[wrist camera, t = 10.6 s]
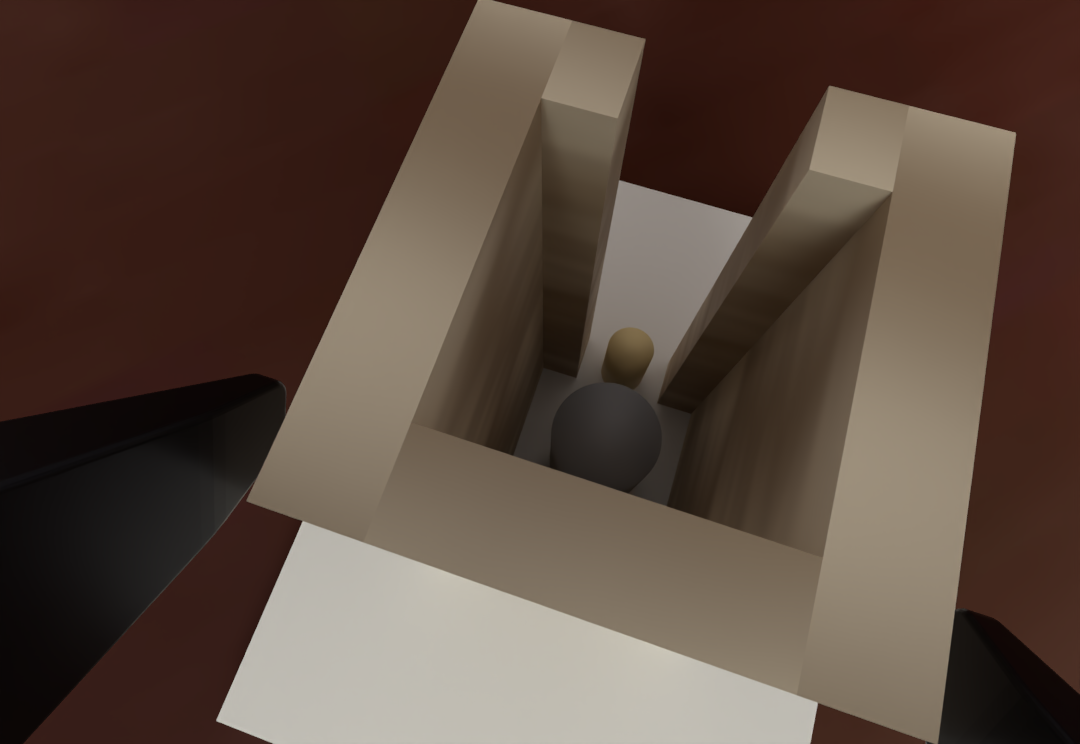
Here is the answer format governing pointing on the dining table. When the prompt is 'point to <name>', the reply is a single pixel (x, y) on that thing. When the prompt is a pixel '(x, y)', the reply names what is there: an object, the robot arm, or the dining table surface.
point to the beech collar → (672, 377)
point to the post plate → (506, 620)
